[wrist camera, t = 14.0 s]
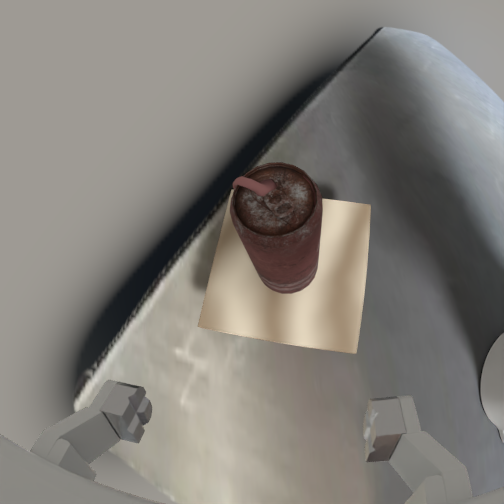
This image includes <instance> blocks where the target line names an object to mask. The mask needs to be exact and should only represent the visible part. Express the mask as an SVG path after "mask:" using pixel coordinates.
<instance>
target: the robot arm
mask: <svg viewBox="0 0 504 504" xmlns="http://www.w3.org/2000/svg"><path fill="white" fill-rule="evenodd" d="M145 394H146V391H145V389H144V387H141V386H136V385H131V384H127V383H122V382H118V381H113V380H108V381H106V382H105V383H104V385H103V386H102V388H101V390H100V391H99V393H98V394H97V396H96V397H95V399H94V400H93V402H92V404H91V405H90V407H89V408H88V407H85V408H83V409H82V410H80V411H78V412H76V413H74V414H73V415H71V416H69V417H67V418H65V419H63V420H61V421H60V422H58V423H56V424H54V425H52V426H50V427H48V428H46V429H45V430H43V432H42V433H41V435H40V437H39V438H38V440H37V441H36V443H35V444H34V446H33V447H32V449H31V450H30V451H29V450H27V449H25V448H23V447H21V446H19V445H18V444H16V443H14V442H12V441H11V440H9V439H8V438H6V437H4V436H3V435H1V434H0V504H164V503H160V502H157V501H153V500H149V499H146V498H142V497H139V496H136V495H132V494H129V493H126V492H123V491H120V490H117V489H114V488H111V487H109V486H106V485H103V484H100V483H98V482H95V481H94V479H95V477H96V472H95V471H94V470H93V469H92V468H91V467H90V465H89V464H90V463H91V462H93V461H94V460H95V459H97V458H98V457H99V456H101V455H102V454H103V453H104V452H106V451H107V450H108V449H110V448H111V447H112V446H114V445H115V444H116V443H118V442H119V441H120V439H122V440H126V441H130V442H135V443H139V442H140V440H141V438H142V435H143V433H144V431H145V430H144V427H143V426H144V425H145V424H147V423H148V422H149V420H150V418H151V414H152V405H151V402H150V400H149V399H147V398H146V397H145ZM481 400H482V404H483V408H484V411H485V413H486V415H487V416H488V418H489V419H490V420H491V421H492V422H493V423H494V424H495V425H496V426H497V428H498V429H499V433H500V437H501V440H502V442H503V443H504V333H503V334H501V335H500V336H499V338H498V339H497V340H496V341H495V343H494V344H493V346H492V347H491V349H490V351H489V353H488V355H487V358H486V360H485V363H484V367H483V371H482V376H481ZM367 407H368V411H367V412H366V413H365V416H364V422H363V435H364V438H365V439H366V440H367V441H366V444H365V459H366V462H379V461H389V463H390V464H391V465H392V467H393V468H394V469H395V470H396V472H397V473H398V474H399V475H400V477H401V478H402V479H403V480H404V482H405V483H406V484H407V485H408V486H409V488H410V489H411V490H412V491H413V494H412V496H411V497H410V498H409V499H408V500H407V501H406V503H405V504H504V487H502V488H499V489H496V490H494V491H491V492H488V493H485V494H482V495H479V496H476V497H473V495H472V490H471V486H470V481H469V477H468V473H467V469H466V467H465V466H464V465H463V464H462V463H461V462H460V461H458V460H457V459H456V458H455V457H454V456H453V455H452V454H451V453H449V452H448V451H447V450H446V449H445V448H444V447H443V446H441V445H440V444H439V443H438V442H437V441H436V440H435V439H434V438H432V437H431V436H430V435H429V434H428V433H427V432H426V431H421V428H420V424H419V420H418V416H417V412H416V408H415V404H414V400H413V397H412V396H411V395H408V396H398V397H397V396H395V397H385V398H374V399H369V401H368V405H367Z"/></svg>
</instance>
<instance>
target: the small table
mask: <svg viewBox="0 0 504 504" xmlns="http://www.w3.org/2000/svg"><path fill="white" fill-rule="evenodd" d="M233 192H234V190H231V194H230V197H229V201H228V205H227V209H226V213H225V217H224V220H223V224H222V228H221V232H220V236H219V240H218V244H217V248H216V252H215V256H214V260H213V264H212V268H211V272H210V277H209V281H208V285H207V289H206V293H205V298H204V302H203V306H202V310H201V315H200V319H199V323H198V327H201V328H205V329H209V330H214V331H219V332H224V333H229V334H234V335H239V336H244V337H249V338H255V339H260V340H266V341H271V342H277V343H283V344H289V345H296V346H302V347H308V348H315V349H322V350H329V351H337V352H345V353H353V354H355V353H356V352H357V346H358V339H359V332H360V325H361V317H362V309H363V301H364V292H365V282H366V272H367V260H368V247H369V232H370V212H371V205H368V204H361V203H353V202H346V201H338V200H330V199H322V204H323V213H322V226H321V238H320V249H319V260H318V269H317V272H316V275H315V278H314V279H313V280H312V282H311V283H310V284H309V286H307V287H306V288H304V289H303V290H301V291H299V292H296V293H292V294H281V293H278V292H275V291H272V290H271V289H270V288H268V287H267V286H266V285H265V284H264V283H263V282H262V280H261V279H260V277H259V275H258V273H257V271H256V269H255V267H254V265H253V263H252V261H251V259H250V257H249V255H248V253H247V251H246V249H245V247H244V245H243V243H242V241H241V239H240V237H239V235H238V233H237V231H236V229H235V227H234V225H233V222H232V219H231V215H230V203H231V198H232V195H233Z"/></svg>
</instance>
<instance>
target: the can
mask: <svg viewBox="0 0 504 504" xmlns="http://www.w3.org/2000/svg"><path fill="white" fill-rule="evenodd" d="M233 187H234V192H233V195H232V198H231V203H230V215H231V219H232V222H233V225H234V227H235V229H236V231H237V233H238V235H239V237H240V239H241V241H242V243H243V245H244V247H245V249H246V251H247V253H248V255H249V257H250V259H251V261H252V263H253V265H254V267H255V269H256V271H257V273H258V275H259V277H260V279H261V280H262V282H263V283H264V284H265V285H266V286H267V287H268V288H270V289H271V290H272V291H275V292H278V293H281V294H292V293H296V292H299V291H301V290H303V289H304V288H306V287H307V286H309V284H310V283H311V282H312V280H313V279H314V278H315V275H316V272H317V269H318V260H319V249H320V238H321V226H322V213H323V204H322V195H321V193H320V191H319V188H318V186H317V184H316V183H315V182H314V181H313V180H312V179H311V178H310V177H309V176H308V174H307V173H306V172H305V171H303V170H301V169H300V168H298V167H296V166H294V165H290V164H286V163H282V162H281V163H267V164H264V165H260V166H257V167H255V168H254V169H252V170H250V171H249V172H247V173H246V174H245V175H244V176H241V177H238V178H236V179H235V181H234V182H233Z"/></svg>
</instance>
